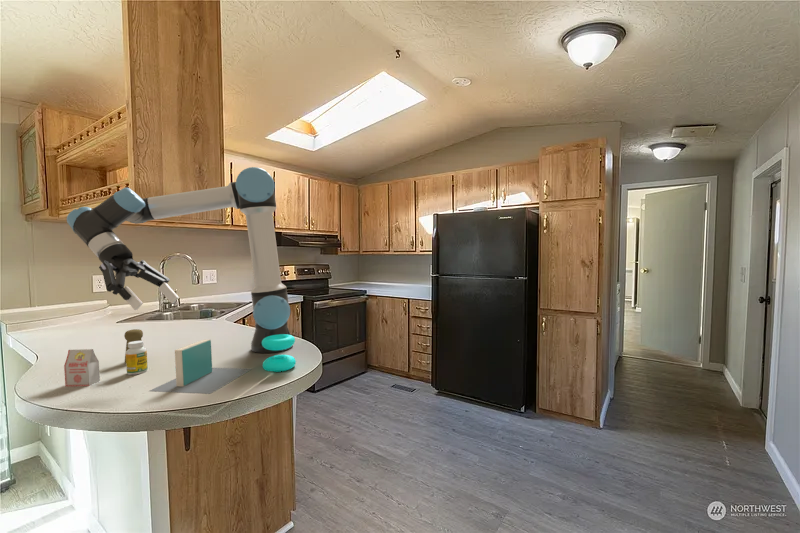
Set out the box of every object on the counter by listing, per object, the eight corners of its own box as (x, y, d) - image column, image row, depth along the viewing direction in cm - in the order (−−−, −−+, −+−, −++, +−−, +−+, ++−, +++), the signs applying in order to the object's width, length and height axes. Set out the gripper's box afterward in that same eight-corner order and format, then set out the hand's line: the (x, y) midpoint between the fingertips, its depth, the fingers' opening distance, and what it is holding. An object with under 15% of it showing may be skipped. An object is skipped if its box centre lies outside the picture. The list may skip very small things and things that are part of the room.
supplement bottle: (136, 369, 119) (135, 339, 118) (152, 369, 118) (150, 340, 118) (122, 375, 113) (120, 344, 113) (138, 375, 113) (136, 344, 112)
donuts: (255, 340, 113) (271, 333, 123) (256, 372, 113) (272, 362, 123) (286, 341, 111) (300, 333, 121) (287, 373, 112) (301, 363, 122)
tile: (176, 386, 102) (174, 350, 101) (205, 371, 114) (204, 339, 113) (184, 386, 101) (182, 350, 101) (212, 372, 113) (211, 339, 113)
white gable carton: (76, 381, 108) (74, 348, 108) (99, 381, 109) (98, 347, 108) (65, 386, 105) (63, 351, 104) (89, 386, 105) (87, 350, 104)
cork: (134, 364, 124) (132, 332, 124) (119, 363, 125) (117, 331, 125) (150, 359, 130) (148, 328, 130) (135, 358, 131) (134, 327, 131)
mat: (148, 392, 99) (148, 391, 99) (200, 368, 118) (200, 367, 118) (210, 395, 96) (210, 393, 96) (252, 370, 116) (252, 368, 116)
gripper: (139, 259, 122) (181, 306, 121) (60, 261, 98) (111, 319, 96) (153, 243, 121) (195, 290, 120) (77, 241, 97) (129, 299, 95)
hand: (158, 303), depth 108 cm, fingers open, 13 cm apart
